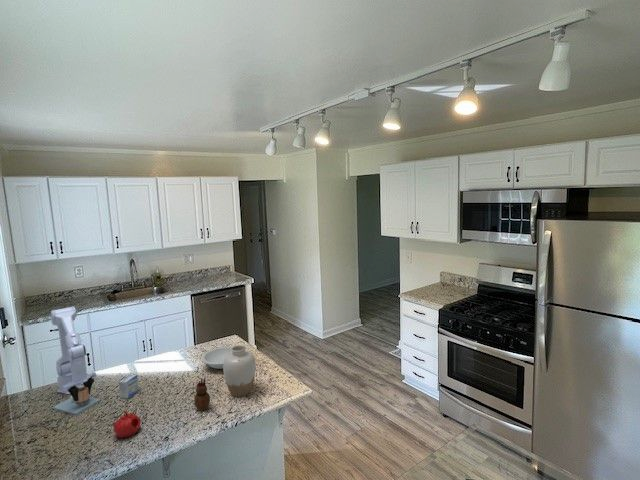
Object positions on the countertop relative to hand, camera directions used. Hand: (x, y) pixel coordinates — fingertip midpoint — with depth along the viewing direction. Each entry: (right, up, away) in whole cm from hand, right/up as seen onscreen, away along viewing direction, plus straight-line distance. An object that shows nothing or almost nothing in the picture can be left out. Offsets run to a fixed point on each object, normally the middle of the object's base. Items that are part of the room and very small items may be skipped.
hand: (81, 397), depth 167 cm
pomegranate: (+33, -6, -20) cm, 39 cm away
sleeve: (0, -2, 0) cm, 2 cm away
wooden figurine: (+59, -3, -4) cm, 59 cm away
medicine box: (+18, -3, +10) cm, 20 cm away
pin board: (-4, -4, +2) cm, 6 cm away
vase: (+74, -1, +9) cm, 74 cm away
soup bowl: (+57, +1, +39) cm, 69 cm away
